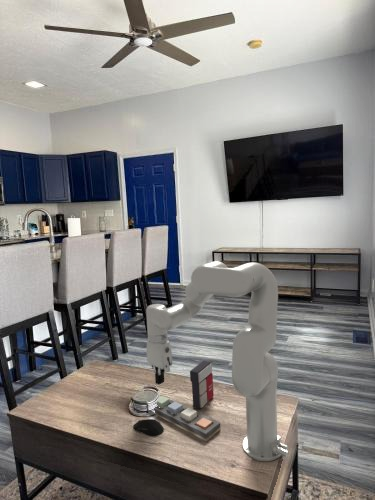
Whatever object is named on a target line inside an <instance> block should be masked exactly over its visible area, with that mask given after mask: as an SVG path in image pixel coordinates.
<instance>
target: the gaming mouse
mask: <svg viewBox="0 0 375 500" xmlns="http://www.w3.org/2000/svg"><path fill="white" fill-rule="evenodd" d="M132 429H133V430H134V431H136V432H139V433H141V434H144V435H147V436H149V437H158V436H160V435H162V434H163V433H164V427H163V425H162V424H161V422H160V421H158V420H156V419H153V418H152V419H151V418H148V419H141V420H140V419H139V420H138V421H137V422H136V423H134V424H133V426H132Z"/></svg>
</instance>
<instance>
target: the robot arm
mask: <svg viewBox="0 0 375 500" xmlns="http://www.w3.org/2000/svg"><path fill="white" fill-rule="evenodd" d="M184 290H185V291H184V292H185V297H184V298H183V299H182V301H180V302H179V303H177V304H174V305H172V306H170V307H168V308H167V306H165V305H164V304H161V303H153V304H150V305H148V306H146V309H145V310H146V313H145V314H146V328H147V341H146V361H147V363H148V365H149V366H150V367H151V368H152V369H153V373H154V377H155V378H154V380H155V384H156V385H161V384H163V383H164V382H165V373H169V372H171V368H170V367H171V366H172V365H173V355H172V354H173V353H172V347H171V343H170V341H169V334H168V331H172V330H174V329H176V328H178V327H180V326H182V325H184V324H186V323H187V322H190V321H191V320H192V319H193V318H194V317H195V316H196V315H197V314H198V313H200V311H201V310H202V309H203V307H204V306H205V304H206V303H207V301H209V300H210V299H211V298H212V297H213V296H214V295H215V296H222V297H229V298H230V297H231V298H239V297H243V296H245V295H247V294H249V293H251V297H250V300H249V303H248V319H247V324H246V326H245V327H243V328H242V329H241V330H239V331H238V332H237V334H236V335H235V337H234V339H233V342H232V351H231V352H232V353H231V354H232V356H231V380H232V385H233V388H234V389H235V391H236V392H237V393H238V394H239V395H240V396H242V397H245V408H246V409H245V410H246V411H245V413H246V414H245V415H246V418H245V419H246V437H244V438H243V441H242V449H243V452H244V453H245V454H246V455H247V456H249V457H251V459H252V460H255V461H259V462H272V461H275V460H276V459H279V458H280V457H281V456H282V457H285V458H288V456H289V455H290V453H289V450H288V449H289V446H288V445H287V444H285V443H282V442H281V441H282V440H281V436H280V435H278V416H277V415H278V411H277V409H278V407H277V405H278V403H277V399H278V398H277V397H278V396H277V391H278V390H277V387H278V379H279V367H278V362H277V360H276V359H275V356H273V355H272V354H271V353H269V352H270V350H272V349H273V347H274V346H275V344H276V341H277V325H278V324H277V323H278V303H279V302H278V301H279V286H278V282H277V279H276V277H275V276H274V274H273V272H272V271H271V270H270V269H269V268H268V267H267V266H265V265H263V264H262V263H260V262H259V263H258V262H247V263H243V264H241V265H238V266H235V267H228V266H227V265H226V264H225V263H223V262H222V261H217V260H216V261H210V262H207V263H203V264H201V265H199V266H197V267H195V269H194V270H193V271H192V272H191V276H190V282H189V283H188V284H187V285H186V287H185V289H184Z"/></svg>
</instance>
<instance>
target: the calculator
mask: <svg viewBox="0 0 375 500" xmlns="http://www.w3.org/2000/svg"><path fill="white" fill-rule="evenodd" d="M213 378H214V376H213V364H212V361H208V360H202V361H201V362H200V363H198V364H197V365H196V366H195V367H194V368H192V369H191V370H189V380H190V382H191V391H192V407H193V408H194V409H198V410H201V409H202V408H203V407H204V406H206V404H208V402H209V401H211V399H212V398H214V379H213Z"/></svg>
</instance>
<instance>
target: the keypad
mask: <svg viewBox="0 0 375 500" xmlns="http://www.w3.org/2000/svg"><path fill="white" fill-rule="evenodd" d="M168 399H169V402H170V404H172V403H173V402H175V401H174V400H172V399H170V398H168ZM170 404H169V405H170ZM167 406H168V405H167ZM167 406H165V407H164V408H159V407H155V408H154V410H155V413H156V414H155V416H158V417H160V418H161V419H163V420H165V421H167V422H169V423H171V424H172V425H174V426H176V427H178V428H180V429H182V430H184V431H185V432H187V433H190V434H192V435H193V436H195V437H196V438H197V437H198V438H199V439H200V440H203V441H206V442H207V441H208V440H210V439H211V438H212V437H213V436H214V435H216V434H217V433H218V432H219V431H220V430H222V429H221V422H220V421H218V420H216V419H214V418H212V417H209V416H207V415H205V414H202V413H200V412H198V411H197V417H196V418H194V419H193V420H191V421H190V422H189V421H187V420H185V419H183V418H181V412H183V411H184V410H186V409H187V408H188V407H187V406H185V405H183V410H182V411H181V412H179V413H177V414H176V415H175V414H173V413H171V412H168V407H167ZM202 418H205V419H207V420H210V421H212V425H211V426H210V427H208V428H207V429H206V430H204V429H202V428H200V427H198V426H196V423H197V422H198V421H199V420H201V419H202Z"/></svg>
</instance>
